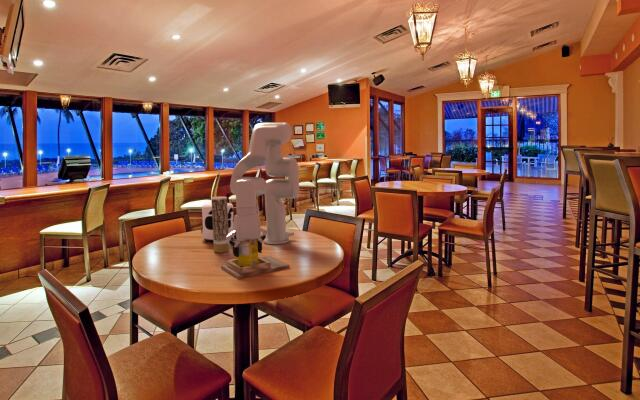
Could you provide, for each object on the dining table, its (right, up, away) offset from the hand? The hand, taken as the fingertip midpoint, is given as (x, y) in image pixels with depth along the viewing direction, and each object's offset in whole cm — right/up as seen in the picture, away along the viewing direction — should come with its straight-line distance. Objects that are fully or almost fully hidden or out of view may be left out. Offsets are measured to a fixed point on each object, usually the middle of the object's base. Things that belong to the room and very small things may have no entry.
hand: (247, 254), depth 155 cm
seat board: (+2, -6, +3) cm, 7 cm away
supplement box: (0, -5, +1) cm, 5 cm away
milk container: (-24, +1, +51) cm, 56 cm away
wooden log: (-17, -3, +28) cm, 33 cm away
